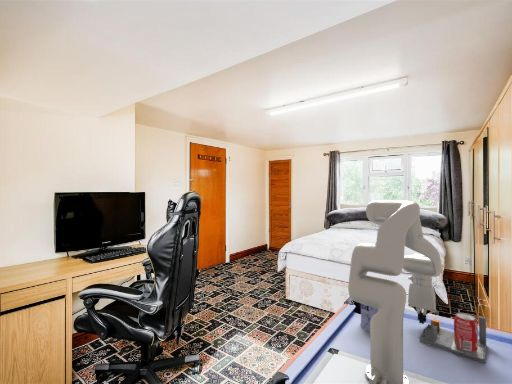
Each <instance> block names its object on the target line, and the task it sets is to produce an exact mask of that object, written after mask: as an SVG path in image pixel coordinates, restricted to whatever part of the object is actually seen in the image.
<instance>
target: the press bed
mask: <svg viewBox="0 0 512 384" xmlns="http://www.w3.org/2000/svg"><path fill="white" fill-rule="evenodd" d="M427 326H428V324H425V327H424V328H423V331H422V332H421V334H420V336H419V337H418V338H419V343H423V344H426V345H428V346H433V347H435V348H439V349H441V350H444V351H448V352H450V353H454V354H457V355H459V356H463V357H465V358H468V359H472V360H474V361H477V362H480V363H483V364H485V363H486V357H487V356H486V354H487V317H485V316H481V315H479V316H478V326H479V327H478V328H479V329H478V348H477V351H474V352H467V351H464V350H461V349H460V348H458V347H457V346H456V345H455V342H454V331H451V330H448V329H443V328H441V327H440V330H437V337H436V339H435V341H434V342H432V341H429V340H426V339H425V330H426V328H427Z"/></svg>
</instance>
